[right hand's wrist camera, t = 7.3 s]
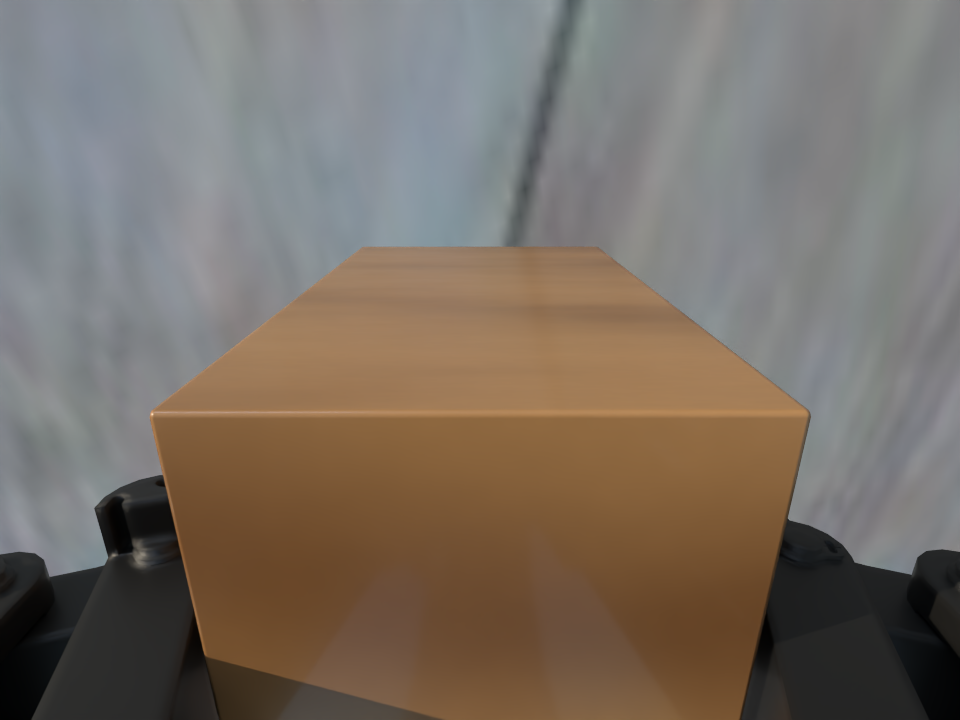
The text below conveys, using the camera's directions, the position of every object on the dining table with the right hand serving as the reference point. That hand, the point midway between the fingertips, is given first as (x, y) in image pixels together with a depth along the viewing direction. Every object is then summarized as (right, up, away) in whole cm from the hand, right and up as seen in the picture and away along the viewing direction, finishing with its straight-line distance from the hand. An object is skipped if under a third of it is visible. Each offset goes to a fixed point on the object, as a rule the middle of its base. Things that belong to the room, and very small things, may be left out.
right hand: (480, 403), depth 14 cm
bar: (0, -9, +4) cm, 10 cm away
